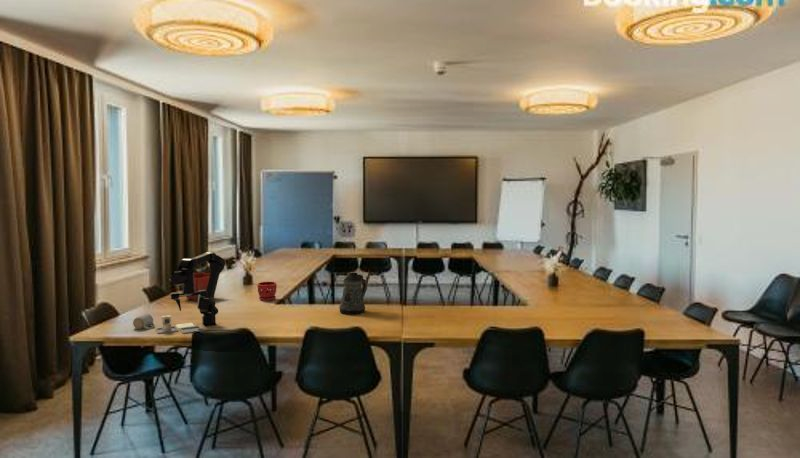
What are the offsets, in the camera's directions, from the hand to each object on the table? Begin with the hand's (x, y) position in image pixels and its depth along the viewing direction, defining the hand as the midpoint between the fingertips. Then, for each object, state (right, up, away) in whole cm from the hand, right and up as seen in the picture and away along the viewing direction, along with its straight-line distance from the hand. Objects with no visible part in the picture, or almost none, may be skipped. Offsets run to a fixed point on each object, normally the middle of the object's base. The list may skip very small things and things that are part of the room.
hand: (189, 309), depth 296 cm
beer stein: (+86, -9, +50) cm, 99 cm away
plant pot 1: (-27, -5, +89) cm, 93 cm away
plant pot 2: (+22, -6, +86) cm, 89 cm away
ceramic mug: (-27, -12, +7) cm, 31 cm away
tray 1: (-12, -12, 0) cm, 17 cm away
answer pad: (-7, -11, +11) cm, 17 cm away
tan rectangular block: (-12, -11, 0) cm, 17 cm away
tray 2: (+1, -12, +1) cm, 12 cm away
